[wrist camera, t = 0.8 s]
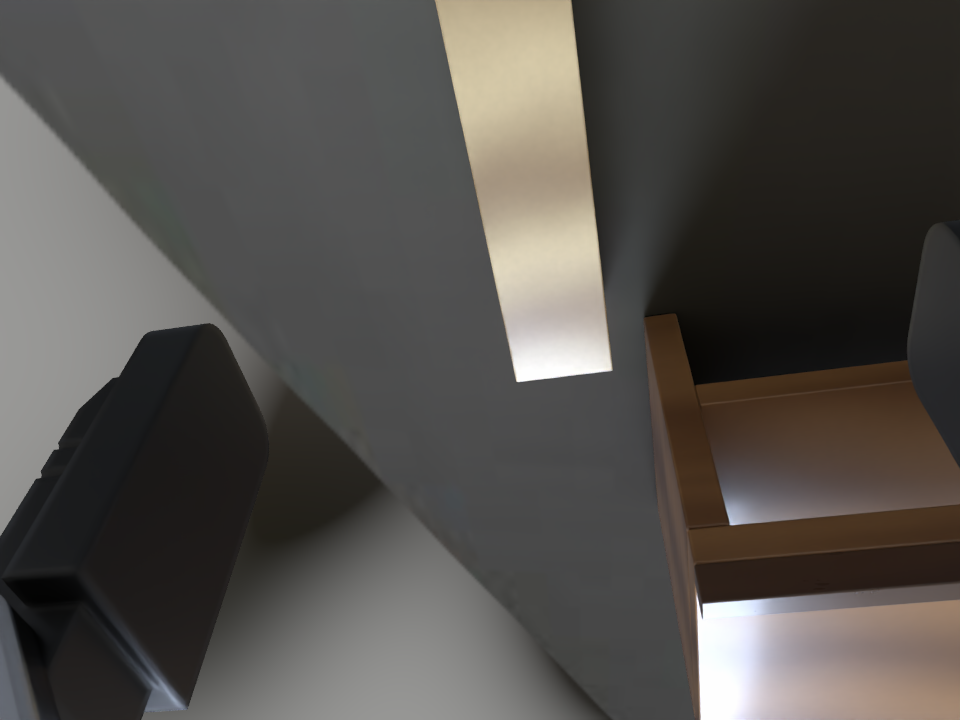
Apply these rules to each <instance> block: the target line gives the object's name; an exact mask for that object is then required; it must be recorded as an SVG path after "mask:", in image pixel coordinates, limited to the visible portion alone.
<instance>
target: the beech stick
mask: <svg viewBox="0 0 960 720" xmlns="http://www.w3.org/2000/svg"><path fill="white" fill-rule="evenodd" d="M435 3H436V7H437V12H438V17H439V21H440V26H441V31H442V35H443V40H444V45H445V49H446V54H447V59H448V63H449V68H450V73H451V78H452V82H453V87H454V92H455V96H456V101H457V106H458V110H459V115H460V120H461V124H462V129H463V134H464V138H465V143H466V148H467V152H468V157H469V162H470V166H471V171H472V176H473V181H474V185H475V190H476V195H477V199H478V204H479V209H480V213H481V218H482V223H483V227H484V232H485V237H486V241H487V246H488V251H489V255H490V260H491V265H492V269H493V274H494V279H495V284H496V288H497V293H498V298H499V302H500V307H501V312H502V316H503V321H504V326H505V330H506V335H507V340H508V344H509V349H510V354H511V358H512V363H513V368H514V372H515V377H516V381H517V382H522V381H530V380H539V379H547V378H555V377H563V376H572V375H580V374H588V373H596V372H605V371H612V370H613V367H612V358H611V349H610V340H609V331H608V322H607V313H606V304H605V295H604V286H603V277H602V268H601V260H600V251H599V242H598V233H597V224H596V215H595V206H594V197H593V188H592V179H591V170H590V161H589V152H588V144H587V135H586V126H585V117H584V108H583V99H582V90H581V81H580V72H579V63H578V54H577V45H576V36H575V28H574V19H573V10H572V1H571V0H435Z"/></svg>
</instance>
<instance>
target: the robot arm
mask: <svg viewBox="0 0 960 720" xmlns="http://www.w3.org/2000/svg"><path fill="white" fill-rule="evenodd" d="M907 359H908V367H909V372H910V376H911V380H912V383H913V386H914V389H915V391H916V393H917V395H918V397H919V399H920V401H921V403H922V404H923V406H924V408H925V409H926V411H927V413H928V415H929V416H930V418H931V420H932V422H933V423H934V425H935V427H936V428H937V430H938V432H939V434H940V435H941V437H942V439H943V440H944V442H945V444H946V446H947V447H948V449H949V451H950V452H951V454H952V456H953V458H954V459H955V461H956V463H957V465H958V466H959V468H960V220H955V221H948V222H941V223H936V224H934V225H933V226H932V227H931V228H930V229H929V231H928V233H927V235H926V238H925V241H924V246H923V251H922V257H921V263H920V269H919V275H918V280H917V286H916V292H915V298H914V304H913V310H912V316H911V322H910V327H909V333H908V340H907ZM58 444H59V450H54V451H53V452H52V454H51V455H50V457H49V459H48V460H47V462H46V464H45V465H44V467H43V469H42V470H41V474H42V477H41V478H39V479H36V480H35V481H34V483H33V485H32V486H31V488H30V489H29V491H28V493H27V494H26V496H25V497H24V499H23V501H22V502H21V504H20V506H19V507H18V509H17V510H16V512H15V514H14V515H13V517H12V519H11V520H10V522H9V523H8V525H7V527H6V528H5V530H4V532H3V533H2V535H1V536H0V720H141V719H142V716H143V713H144V712H155V711H171V710H185V709H188V706H189V703H190V700H191V697H192V693H193V691H194V687H195V684H196V681H197V678H198V675H199V672H200V669H201V666H202V663H203V660H204V657H205V654H206V651H207V647H208V645H209V642H210V639H211V635H212V632H213V629H214V626H215V623H216V620H217V617H218V614H219V611H220V608H221V605H222V601H223V598H224V596H225V593H226V590H227V586H228V583H229V580H230V577H231V574H232V571H233V568H234V565H235V562H236V559H237V556H238V553H239V550H240V547H241V543H242V540H243V537H244V534H245V531H246V528H247V525H248V522H249V519H250V516H251V513H252V510H253V507H254V504H255V501H256V498H257V494H258V491H259V488H260V485H261V482H262V479H263V476H264V473H265V470H266V466H267V462H268V455H269V441H268V433H267V428H266V424H265V420H264V418H263V415H262V413H261V411H260V409H259V407H258V404H257V402H256V400H255V398H254V396H253V394H252V392H251V390H250V388H249V386H248V384H247V382H246V380H245V377H244V375H243V373H242V371H241V369H240V367H239V365H238V363H237V361H236V359H235V357H234V355H233V352H232V350H231V348H230V346H229V344H228V342H227V340H226V338H225V337H224V335H223V333H222V332H221V330H219V328H217V327H216V326H215V325H213V324H210V323H209V324H200V325H193V326H186V327H179V328H172V329H165V330H158V331H151V332H148V333H147V334H145V335H144V336H143V338H142V339H141V340H140V342H139V344H138V346H137V348H136V349H135V351H134V353H133V354H132V356H131V357H130V359H129V361H128V362H127V364H126V366H125V368H124V369H123V371H122V373H121V375H120V376H119V377H117V378H112V379H111V380H110V381H109V382H108V383H107V384H106V385H105V386H104V387H103V388H102V389H101V390H99V391H98V392H97V393H96V394H95V395H94V396H93V397H92V398H91V399H90V400H89V401H88V402H86V403H85V404H84V405H83V406H82V407H81V408H80V409H79V410H78V412H77V413H76V415H75V417H74V419H73V420H72V421H71V423H70V425H69V427H68V428H67V430H66V431H65V433H64V435H63V436H62V438H61V439H60V441H59V443H58Z"/></svg>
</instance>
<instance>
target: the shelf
mask: <svg viewBox="0 0 960 720" xmlns="http://www.w3.org/2000/svg"><path fill="white" fill-rule="evenodd" d="M644 332H645V345H646V358H647V371H648V384H649V397H650V410H651V424H652V437H653V450H654V463H655V476H656V489H657V502H658V511H659V517H660V522H661V528H662V534H663V539H664V545H665V551H666V556H667V562H668V568H669V574H670V579H671V585H672V591H673V596H674V602H675V608H676V614H677V619H678V625H679V631H680V636H681V642H682V648H683V654H684V659H685V665H686V671H687V676H688V682H689V688H690V694H691V699H692V705H693V711H694V715H695V720H960V468H959V466H958V465H957V463H956V461H955V459H954V458H953V456H952V454H951V452H950V451H949V449H948V447H947V446H946V444H945V442H944V440H943V439H942V437H941V435H940V434H939V432H938V430H937V428H936V427H935V425H934V423H933V422H932V420H931V418H930V416H929V415H928V413H927V411H926V409H925V408H924V406H923V404H922V403H921V401H920V399H919V397H918V395H917V393H916V391H915V389H914V386H913V383H912V380H911V376H910V372H909V367H908V360H905V361H897V362H888V363H880V364H871V365H863V366H854V367H845V368H837V369H828V370H820V371H811V372H803V373H794V374H785V375H777V376H768V377H760V378H751V379H743V380H734V381H726V382H717V383H708V384H700V385H696V386H694V382H693V378H692V374H691V370H690V366H689V362H688V358H687V354H686V351H685V347H684V343H683V339H682V335H681V331H680V327H679V323H678V319H677V316H676V314H674V313H673V314H665V315H657V316H650V317H645V318H644Z"/></svg>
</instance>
